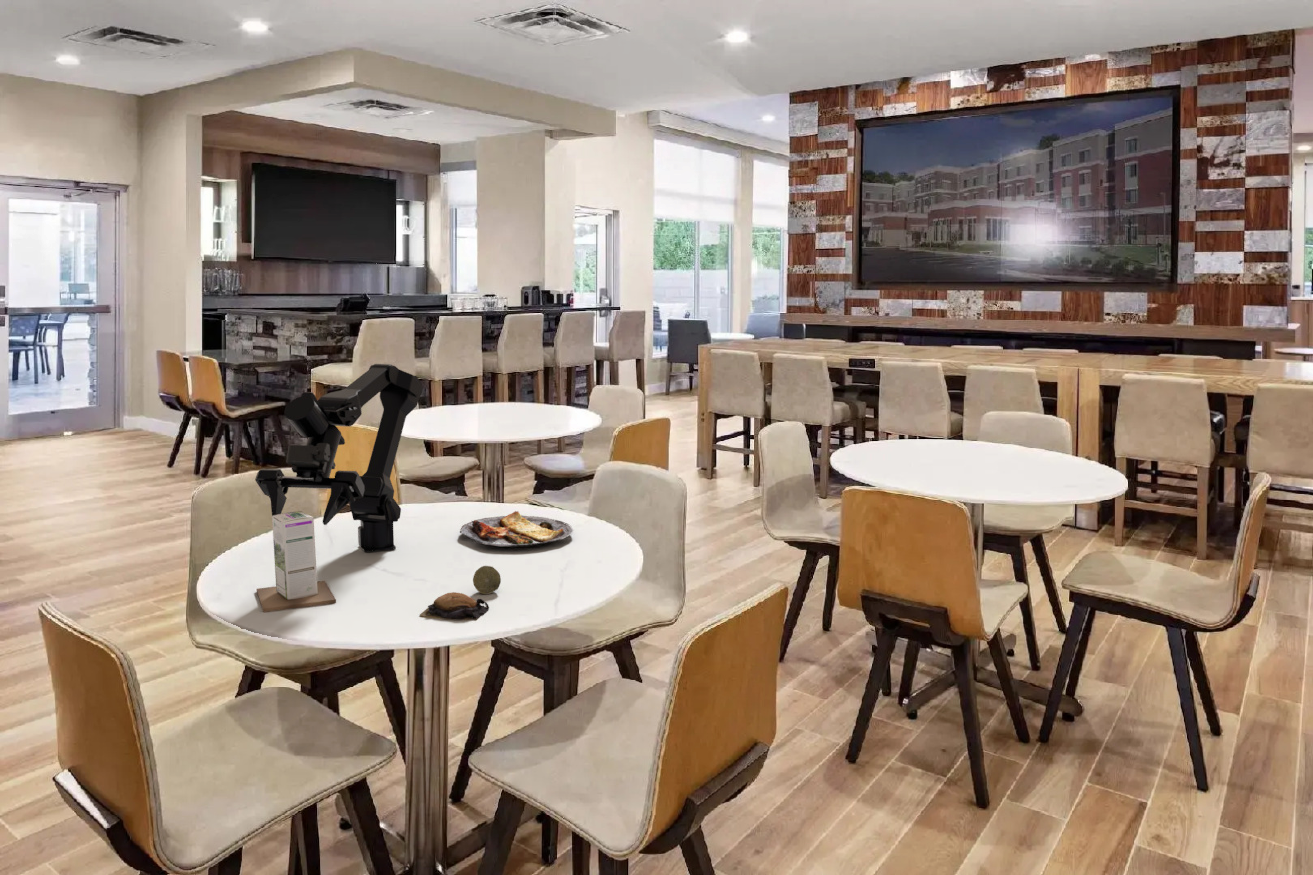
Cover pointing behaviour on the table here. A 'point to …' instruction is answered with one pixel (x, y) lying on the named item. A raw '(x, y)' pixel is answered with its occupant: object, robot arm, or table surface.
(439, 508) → the table surface
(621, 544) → the table surface
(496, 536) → the food plate
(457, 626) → the table surface
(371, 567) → the table surface
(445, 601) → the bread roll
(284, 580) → the syrup box
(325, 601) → the plate
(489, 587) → the lime
